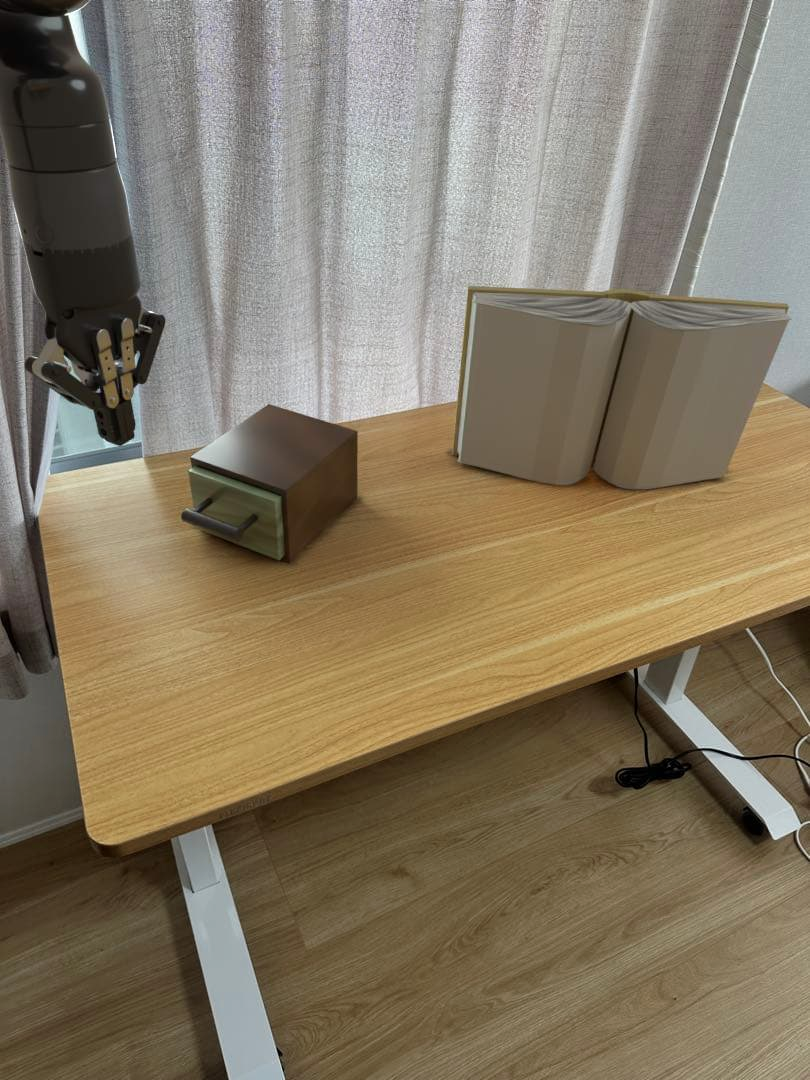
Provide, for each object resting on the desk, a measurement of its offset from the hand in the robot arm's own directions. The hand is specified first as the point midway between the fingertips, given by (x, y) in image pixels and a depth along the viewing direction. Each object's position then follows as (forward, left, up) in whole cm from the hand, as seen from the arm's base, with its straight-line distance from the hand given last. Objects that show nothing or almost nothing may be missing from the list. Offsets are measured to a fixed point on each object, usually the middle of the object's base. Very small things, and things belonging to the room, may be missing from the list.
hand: (119, 440), depth 68 cm
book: (+55, +20, -21) cm, 62 cm away
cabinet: (+14, +17, -21) cm, 30 cm away
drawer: (+12, +14, -20) cm, 27 cm away
